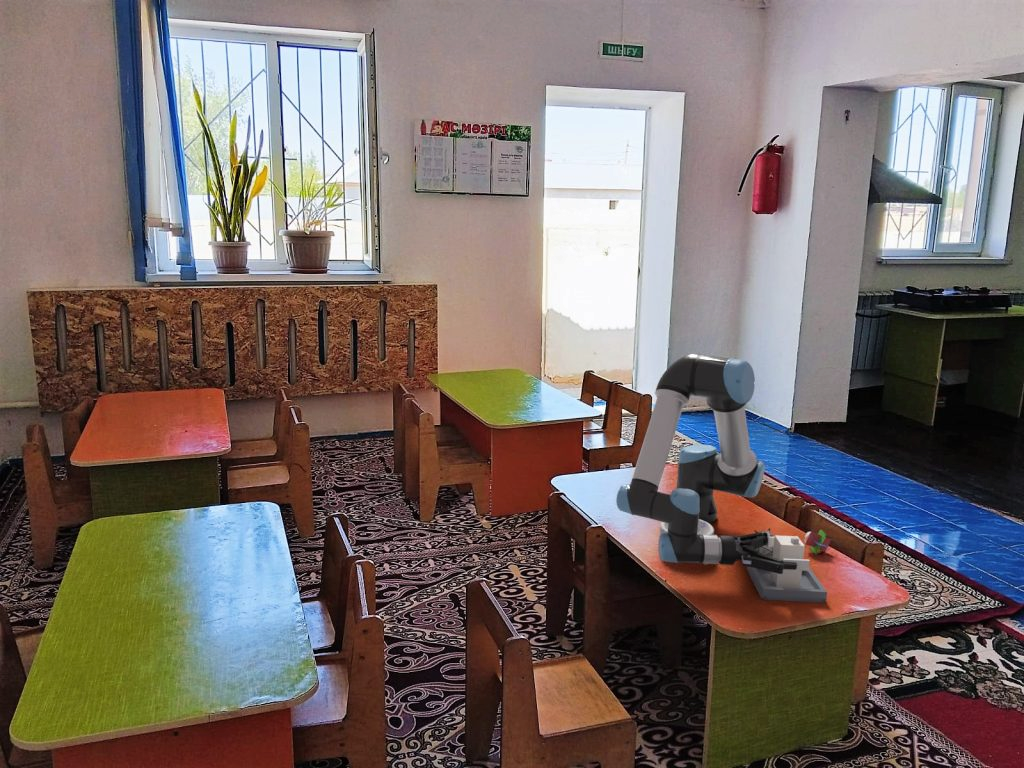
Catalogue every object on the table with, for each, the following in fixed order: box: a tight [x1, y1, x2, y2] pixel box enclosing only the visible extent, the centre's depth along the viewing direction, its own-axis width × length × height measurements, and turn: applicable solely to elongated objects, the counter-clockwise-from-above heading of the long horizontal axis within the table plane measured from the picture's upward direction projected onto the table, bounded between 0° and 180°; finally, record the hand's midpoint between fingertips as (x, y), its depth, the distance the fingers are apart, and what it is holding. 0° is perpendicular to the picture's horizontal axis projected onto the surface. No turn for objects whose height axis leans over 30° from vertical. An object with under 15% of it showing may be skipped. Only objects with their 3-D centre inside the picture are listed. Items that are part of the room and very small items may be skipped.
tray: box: [746, 566, 828, 604], centre depth 203 cm, size 16×16×3 cm
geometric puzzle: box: [803, 528, 832, 555], centre depth 224 cm, size 7×7×8 cm
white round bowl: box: [659, 519, 715, 535], centre depth 222 cm, size 15×15×8 cm
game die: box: [754, 527, 775, 557], centre depth 220 cm, size 9×8×10 cm
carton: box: [770, 534, 806, 588], centre depth 202 cm, size 6×6×13 cm
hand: (800, 553), depth 201 cm, fingers open, 13 cm apart
